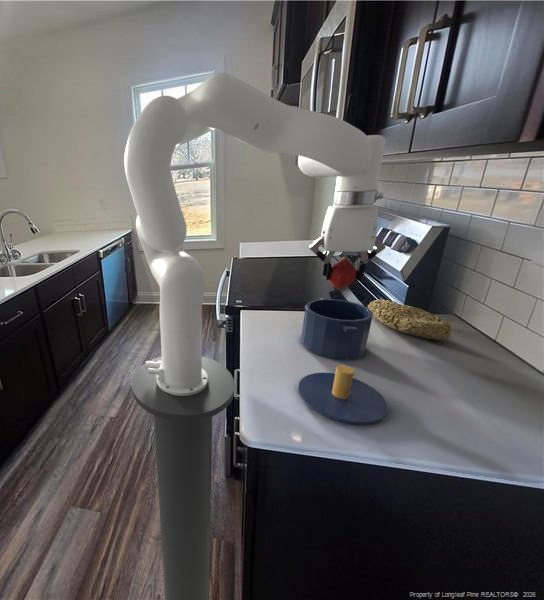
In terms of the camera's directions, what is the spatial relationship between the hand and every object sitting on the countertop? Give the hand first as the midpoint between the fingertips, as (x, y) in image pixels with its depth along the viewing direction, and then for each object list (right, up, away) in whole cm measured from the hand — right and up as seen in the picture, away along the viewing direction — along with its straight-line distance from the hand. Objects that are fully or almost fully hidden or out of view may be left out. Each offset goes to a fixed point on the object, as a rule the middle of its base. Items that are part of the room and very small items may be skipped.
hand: (341, 277), depth 75 cm
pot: (+3, -17, +9) cm, 20 cm away
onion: (0, -3, +1) cm, 3 cm away
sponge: (+27, -14, +15) cm, 34 cm away
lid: (-7, -25, -10) cm, 28 cm away
